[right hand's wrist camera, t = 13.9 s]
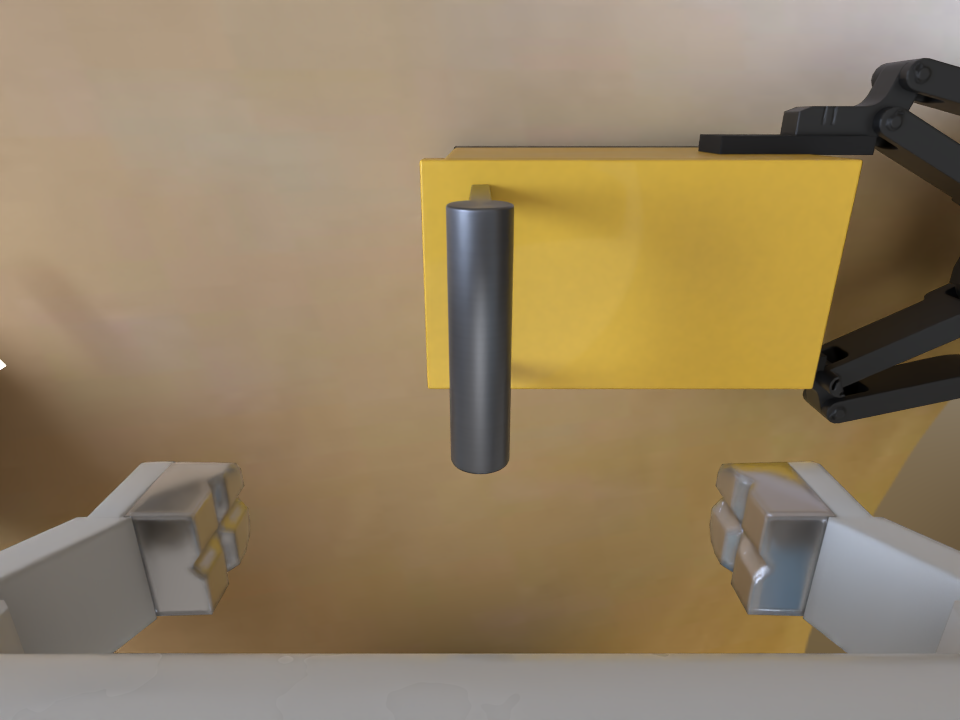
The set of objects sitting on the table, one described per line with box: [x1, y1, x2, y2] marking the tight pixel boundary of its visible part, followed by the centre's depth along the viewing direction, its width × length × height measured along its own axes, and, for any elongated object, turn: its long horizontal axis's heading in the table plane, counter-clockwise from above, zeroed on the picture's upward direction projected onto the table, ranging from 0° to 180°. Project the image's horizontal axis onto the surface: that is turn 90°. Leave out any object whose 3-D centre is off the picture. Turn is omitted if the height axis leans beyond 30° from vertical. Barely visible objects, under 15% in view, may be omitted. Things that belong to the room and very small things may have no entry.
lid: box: [420, 158, 863, 474], centre depth 21 cm, size 16×9×9 cm, turn 90°
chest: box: [446, 146, 841, 158], centre depth 30 cm, size 15×9×11 cm, turn 90°
